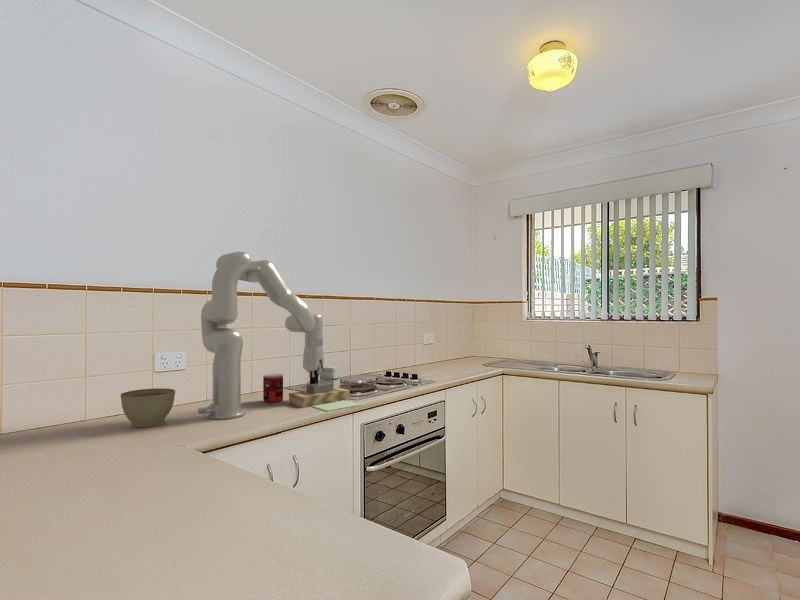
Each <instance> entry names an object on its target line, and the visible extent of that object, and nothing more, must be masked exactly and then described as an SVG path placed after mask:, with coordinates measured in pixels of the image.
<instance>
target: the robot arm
mask: <svg viewBox="0 0 800 600" xmlns="http://www.w3.org/2000/svg"><path fill="white" fill-rule="evenodd" d="M215 267H216V270H215V272H214V274H213V277H212V281H211V299H210V300H207V302H205V304H204V305H203V307H202V309H201V312H200V320H201V321H200V322H201V338H202V344H203V346H204V349H206V350H207V351H208V352H210V353H214V356H213V360H212V361H213V362H212V402H211V403H209V405H207V407H199V408H197V412H198V414H204V415H205V414H207V418H209V419H212V420H230V419H235V418H239V417H242V416H244V415H246V410H245V409H243V408H242V407H241V397H242V396H241V388H242V385H241V383H242V379H241V378H242V377H241V376H242V375H241V372H242V371H241V367H242V366H241V362H242V360H241V359H242V353H243V346H244V340H243V336H242V335H241V333H240V332H239V331H238V330H236V329H233V328H231V327H230V328H228V325H230V324H233V323H235V321H237V319H238V317H239V309H238V308H239V306H238V283H239V281H244V282H248V283H258V284H259V285H260V287H261V288H262V290H263V291H264V292H265V294H266V296H267V298H268V299H269V300H270V302H272V303H273V304H274V305H276V306H279V307H281V308H283V309H284V310H286V311H287V312H288V313H289V314H290V315H288V316H287V317H286V318H285V321H284V326H285V328H286V330H288V331H289V332H292V333H304V349H303V357H302V369H304V370H306V372H308V376H309V384H317V383H319V378H320V374H321V373H322V370H323V369H324V367H325V356H324V348H323V346H324V345H323V344H324V342H323V338H324V336H323V334H324V333H323V327H324V326H323V324H324V322H323V320H324V319H323V315H322V314H319V313H318V314H315V313H313V312H312V311H311V309H310V308H309V307H308V305H307V304H306V303H305V302H304V300H302V299H301V298H300V297H299V296H298V295H297V294H295V293H294V292H293V291H292V290H290V288H289V286H288V285H287V283H286V282H285V281H284V279H283V277H282V276H281V274H280V273H279V271H278V270H277V268H276V266H275V265H274V264H273V263H272V262H271V261H269V260H266V259H262V260H255V261H252V259H251V256H250V255H249V254H248V253H246V252H244V251H234V252H230V253H226V254H222V255H221V256H219V257H218V258H217V260H216V262H215Z"/></svg>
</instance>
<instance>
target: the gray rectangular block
mask: <svg viewBox="0 0 800 600" xmlns="http://www.w3.org/2000/svg"><path fill="white" fill-rule="evenodd" d="M306 391H307V392H309V393H313V394H318V393H324V392H331V391H333V384H331V383H326V382H324V383H320V382H318V383H317V384H310V383H309V384H306Z"/></svg>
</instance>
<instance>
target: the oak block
mask: <svg viewBox="0 0 800 600" xmlns="http://www.w3.org/2000/svg"><path fill="white" fill-rule="evenodd" d="M349 399H350V400H351V390H349V389H346V388H342V387H340V388H337V387H333V391H331V392H324V393H318V394H313V393H309V392H307V390H303V391H295V392H290V393H288V404H291V405H293V406H297V407H301V408H309V407H310V408H311V407H312V406H316V405H321V404H327V403H332V402H336V401H341V400H346V401H350V400H349Z"/></svg>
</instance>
